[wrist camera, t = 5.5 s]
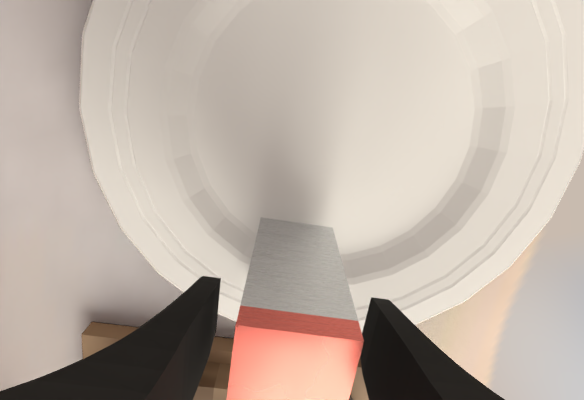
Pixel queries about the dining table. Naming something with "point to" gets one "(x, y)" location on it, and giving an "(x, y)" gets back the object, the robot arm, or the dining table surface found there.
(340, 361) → the pin
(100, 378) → the robot arm
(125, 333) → the board
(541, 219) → the plate
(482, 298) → the dining table surface
